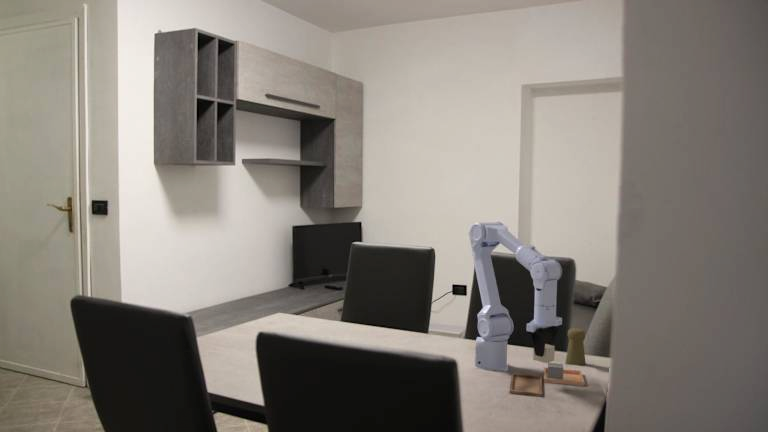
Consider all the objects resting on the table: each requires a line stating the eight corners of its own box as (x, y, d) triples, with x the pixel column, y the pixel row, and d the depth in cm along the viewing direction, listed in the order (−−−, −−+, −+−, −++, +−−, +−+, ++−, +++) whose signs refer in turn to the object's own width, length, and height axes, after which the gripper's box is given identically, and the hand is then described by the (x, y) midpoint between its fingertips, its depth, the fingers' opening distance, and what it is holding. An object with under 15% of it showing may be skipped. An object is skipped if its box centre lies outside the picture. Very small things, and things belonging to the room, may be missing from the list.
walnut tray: (509, 395, 144) (509, 390, 144) (511, 377, 159) (511, 373, 159) (542, 398, 142) (542, 394, 142) (541, 380, 157) (541, 375, 157)
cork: (587, 367, 170) (588, 331, 169) (566, 366, 171) (567, 330, 171) (584, 361, 176) (585, 327, 175) (564, 360, 177) (565, 326, 176)
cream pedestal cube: (533, 359, 152) (533, 345, 151) (541, 357, 154) (541, 342, 154) (546, 363, 149) (546, 348, 148) (554, 360, 151) (554, 345, 151)
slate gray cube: (547, 376, 159) (547, 362, 159) (562, 378, 158) (562, 364, 158) (547, 380, 155) (548, 366, 155) (562, 382, 154) (563, 368, 154)
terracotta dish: (543, 383, 154) (544, 378, 154) (543, 372, 164) (543, 367, 164) (584, 387, 151) (584, 382, 151) (581, 375, 162) (581, 370, 161)
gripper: (543, 310, 143) (542, 362, 144) (572, 303, 153) (571, 352, 153) (520, 305, 148) (518, 356, 149) (549, 299, 158) (548, 347, 159)
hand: (543, 354), depth 151 cm, fingers closed on cream pedestal cube, 4 cm apart
